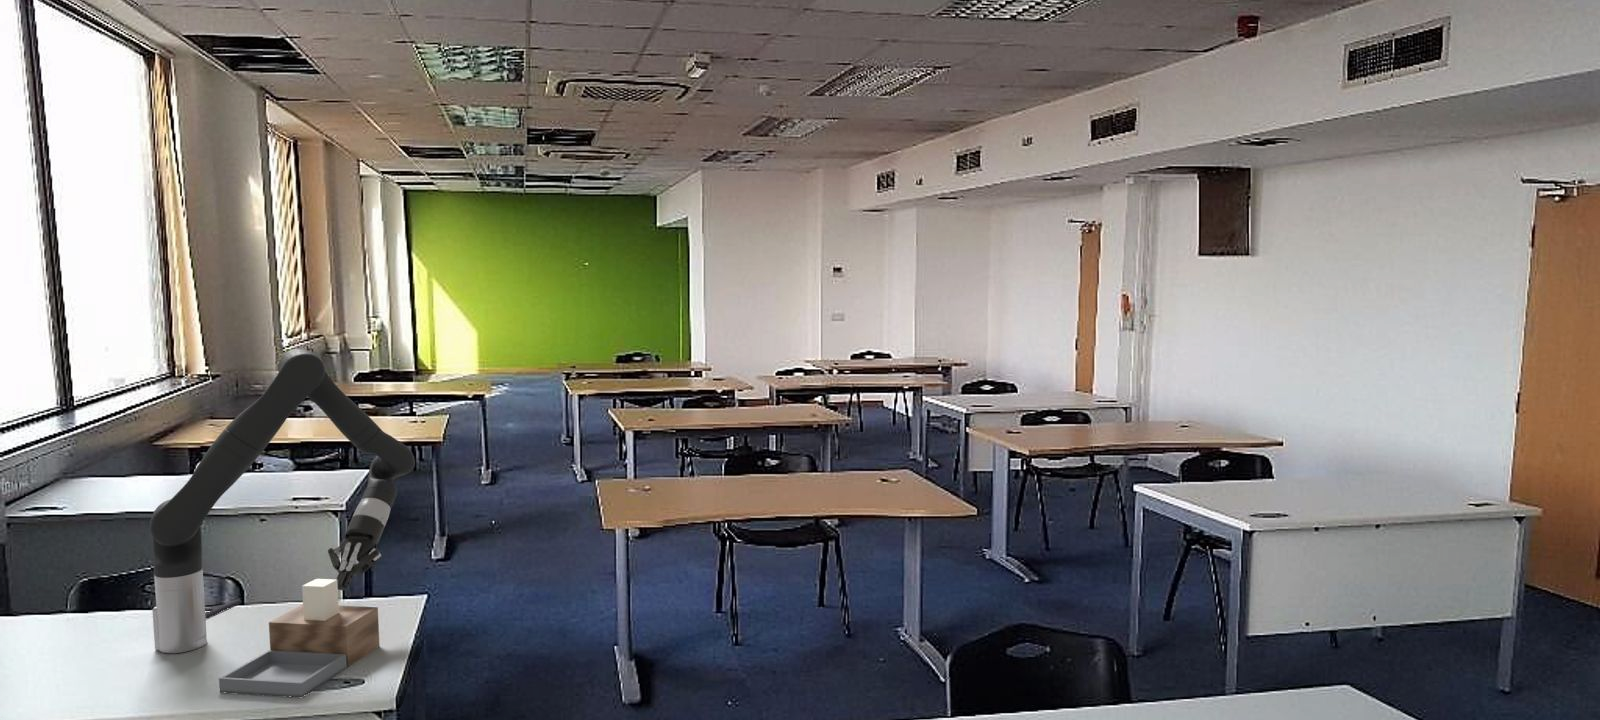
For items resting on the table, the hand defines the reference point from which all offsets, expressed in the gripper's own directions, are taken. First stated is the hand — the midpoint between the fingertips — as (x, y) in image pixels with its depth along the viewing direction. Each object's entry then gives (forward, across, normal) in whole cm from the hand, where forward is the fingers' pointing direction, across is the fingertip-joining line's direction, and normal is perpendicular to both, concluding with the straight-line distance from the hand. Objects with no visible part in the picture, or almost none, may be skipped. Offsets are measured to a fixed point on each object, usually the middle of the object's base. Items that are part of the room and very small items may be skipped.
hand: (340, 588), depth 227 cm
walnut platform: (+14, 0, +5) cm, 14 cm away
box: (+23, 0, -5) cm, 24 cm away
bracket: (-2, -50, +21) cm, 54 cm away
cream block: (+8, 0, -2) cm, 8 cm away
